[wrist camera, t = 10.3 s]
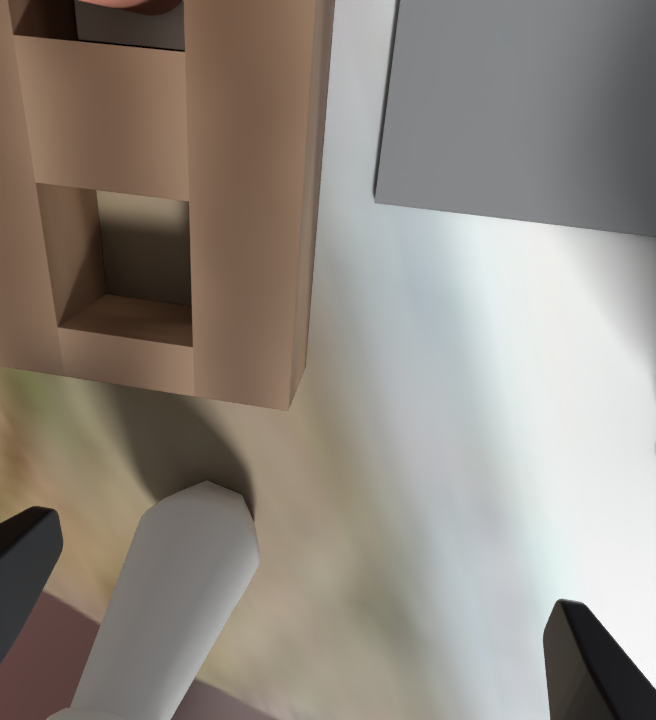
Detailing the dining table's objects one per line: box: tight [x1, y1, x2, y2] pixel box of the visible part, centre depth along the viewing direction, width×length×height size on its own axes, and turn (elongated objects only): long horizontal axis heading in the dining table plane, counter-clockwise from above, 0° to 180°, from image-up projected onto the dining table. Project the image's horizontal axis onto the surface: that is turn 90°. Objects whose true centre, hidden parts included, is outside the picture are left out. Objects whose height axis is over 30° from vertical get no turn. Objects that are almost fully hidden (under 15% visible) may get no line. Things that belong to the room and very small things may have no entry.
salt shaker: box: [46, 480, 260, 720], centre depth 22 cm, size 6×6×13 cm
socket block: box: [0, 0, 335, 411], centre depth 18 cm, size 12×18×4 cm, turn 175°
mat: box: [375, 0, 656, 237], centre depth 17 cm, size 10×10×1 cm
